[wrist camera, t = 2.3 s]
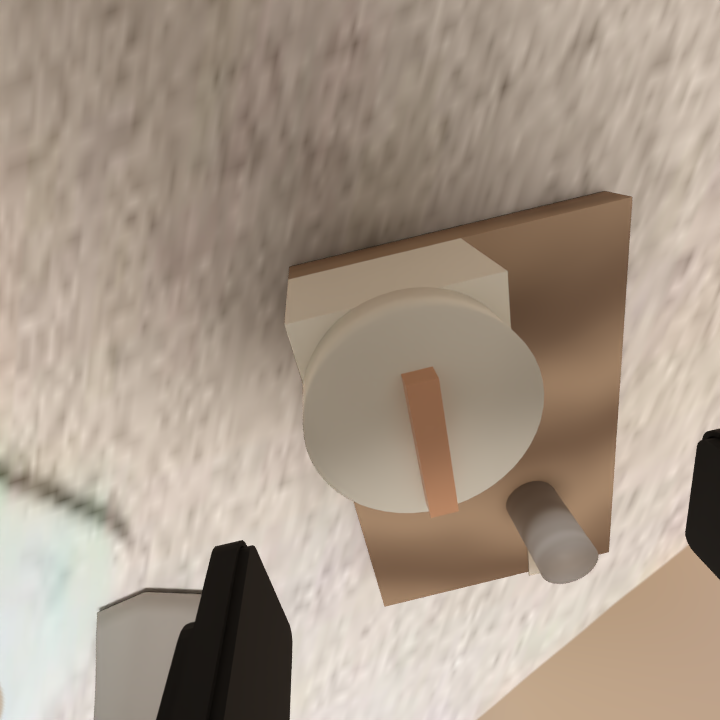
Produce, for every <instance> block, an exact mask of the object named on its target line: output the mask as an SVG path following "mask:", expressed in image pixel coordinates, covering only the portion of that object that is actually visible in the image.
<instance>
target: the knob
mask: <svg viewBox="0 0 720 720" xmlns="http://www.w3.org/2000/svg"><path fill="white" fill-rule="evenodd" d="M284 325H285V328H286V332H287V335H288V338H289V341H290V344H291V348H292V351H293V354H294V357H295V360H296V364H297V367H298V370H299V373H300V376H301V379H302V383H303V432H304V440H305V444H306V448H307V452H308V454H309V456H310V459H311V461H312V463H313V465H314V466H315V468H316V470H317V471H318V473H319V474H320V475H321V476H322V478H323V479H324V480H325V481H326V482H327V483H328V484H329V485H330V486H331V487H332V488H333V489H335V490H336V491H337V492H338V493H340V494H342V495H343V496H345V497H346V498H348V499H350V500H352V501H354V502H356V503H358V504H360V505H363V506H366V507H369V508H372V509H376V510H381V511H385V512H394V513H419V512H428V511H429V514H430V517H431V518H433V517H437V516H442V515H446V514H450V513H454V512H458V511H459V509H458V503H461V502H464V501H466V500H468V499H470V498H472V497H474V496H476V495H478V494H480V493H482V492H483V491H485V490H486V489H488V488H490V487H491V486H493V485H494V484H495V483H496V482H498V481H499V480H500V479H502V478H503V477H504V476H505V475H506V474H507V473H508V472H509V471H510V470H511V469H512V468H513V467H514V466H515V465H516V464H517V463H518V461H519V460H520V459H521V458H522V457H523V455H524V454H525V452H526V451H527V449H528V448H529V446H530V444H531V442H532V440H533V438H534V436H535V434H536V432H537V429H538V427H539V424H540V421H541V416H542V411H543V405H544V388H543V380H542V376H541V372H540V368H539V366H538V364H537V362H536V359H535V357H534V355H533V354H532V352H531V351H530V349H529V348H528V346H527V345H526V343H525V342H524V341H523V340H522V339H521V338H520V337H519V336H518V335H517V334H516V333H515V332H514V331H513V330H512V329H511V321H510V304H509V287H508V271H507V270H506V269H504V268H503V267H501V266H500V265H498V264H497V263H496V262H494V261H493V260H491V259H490V258H488V257H487V256H485V255H484V254H483V253H481V252H480V251H478V250H477V249H475V248H474V247H473V246H471V245H470V244H468V243H467V242H465V241H464V240H463V239H461V238H459V239H455V240H451V241H447V242H443V243H438V244H434V245H430V246H426V247H422V248H418V249H413V250H409V251H405V252H401V253H397V254H393V255H388V256H384V257H380V258H376V259H372V260H368V261H363V262H359V263H355V264H351V265H347V266H343V267H338V268H334V269H330V270H326V271H322V272H318V273H313V274H309V275H305V276H301V277H297V278H293V279H288V288H287V299H286V311H285V322H284Z"/></svg>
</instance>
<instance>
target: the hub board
mask: <svg viewBox="0 0 720 720" xmlns="http://www.w3.org/2000/svg"><path fill="white" fill-rule="evenodd" d="M631 210H632V197H630V196H626V195H621V194H616V193H611V192H607V191H603V192H599V193H595V194H591V195H587V196H582V197H578V198H574V199H570V200H566V201H562V202H557V203H553V204H549V205H545V206H541V207H537V208H532V209H528V210H524V211H520V212H516V213H512V214H507V215H503V216H499V217H495V218H491V219H487V220H482V221H478V222H474V223H470V224H466V225H462V226H457V227H453V228H449V229H445V230H441V231H437V232H432V233H428V234H424V235H420V236H416V237H412V238H407V239H403V240H399V241H395V242H391V243H387V244H382V245H378V246H374V247H370V248H366V249H362V250H357V251H353V252H349V253H345V254H341V255H337V256H332V257H328V258H324V259H320V260H316V261H312V262H307V263H303V264H299V265H295V266H291V267H289V277H288V279H293V278H297V277H301V276H305V275H309V274H313V273H318V272H322V271H326V270H330V269H334V268H338V267H343V266H347V265H351V264H355V263H359V262H363V261H368V260H372V259H376V258H380V257H384V256H388V255H393V254H397V253H401V252H405V251H409V250H413V249H418V248H422V247H426V246H430V245H434V244H438V243H443V242H447V241H451V240H455V239H459V238H461V239H463V240H464V241H465V242H467V243H468V244H470V245H471V246H473V247H474V248H475V249H477V250H478V251H480V252H481V253H483V254H484V255H485V256H487V257H488V258H490V259H491V260H493V261H494V262H496V263H497V264H498V265H500V266H501V267H503V268H504V269H506V270H507V271H508V287H509V304H510V321H511V329H512V330H513V331H514V332H515V333H516V334H517V335H518V336H519V337H520V338H521V339H522V340H523V341H524V342H525V343H526V345H527V346H528V348H529V349H530V351H531V352H532V354H533V355H534V357H535V359H536V362H537V364H538V366H539V368H540V372H541V376H542V380H543V388H544V405H543V411H542V416H541V421H540V424H539V427H538V429H537V432H536V434H535V436H534V438H533V440H532V442H531V444H530V446H529V448H528V449H527V451H526V452H525V454H524V455H523V457H522V458H521V459H520V460H519V461H518V463H517V464H516V465H515V466H514V467H513V468H512V469H511V470H510V471H509V472H508V473H507V474H506V475H505V476H504V477H503V478H502V479H500V480H499V481H498V482H496V483H495V484H494V485H493V486H491V487H490V488H488V489H486V490H485V491H483V492H482V493H480V494H478V495H476V496H474V497H472V498H470V499H468V500H466V501H464V502H461V503H458V509H459V511H458V512H454V513H450V514H446V515H442V516H437V517H433V518H431V517H430V514H429V511H428V512H419V513H394V512H385V511H381V510H376V509H372V508H369V507H366V506H363V505H360V504H358V503H356V502H354V504H355V508H356V511H357V515H358V518H359V521H360V525H361V528H362V532H363V535H364V538H365V542H366V545H367V548H368V552H369V555H370V559H371V562H372V565H373V569H374V572H375V576H376V579H377V582H378V586H379V589H380V593H381V596H382V599H383V603H384V606H389V605H393V604H397V603H401V602H406V601H410V600H414V599H418V598H422V597H426V596H430V595H434V594H438V593H442V592H447V591H451V590H455V589H459V588H463V587H467V586H471V585H475V584H479V583H484V582H488V581H492V580H496V579H500V578H504V577H508V576H512V575H516V574H520V573H525V572H529V576H530V575H534V574H538V573H541V575H542V577H543V578H544V579H545V580H546V581H548V582H551V583H555V584H564V583H570V582H573V581H576V580H578V579H580V578H582V577H584V576H585V575H587V574H588V573H589V572H590V571H591V570H592V569H593V568H594V566H595V565H596V563H597V560H598V554H603V553H607V552H609V541H610V526H611V511H612V496H613V481H614V465H615V450H616V435H617V420H618V405H619V390H620V375H621V360H622V345H623V330H624V315H625V300H626V285H627V270H628V255H629V240H630V225H631Z"/></svg>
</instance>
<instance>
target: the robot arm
mask: <svg viewBox="0 0 720 720" xmlns="http://www.w3.org/2000/svg"><path fill="white" fill-rule="evenodd" d="M685 536H686V540H687V542H688V544H689V546H690V547H691V549H692V550H693V551H694V553H695V554H696V555H697V556H698V557H699V558H700V559H701V560H702V561H703V562H704V563H705V564H706V565H707V567H708V568H710V570H711V571H712V572H713V573H714V574H715V575H716V576H717V577H718V578H719V579H720V429H715V430H711V431H707V432H706V433H705V434H704V435H703V438H702V440H701V441H699V442H698V445H697V450H696V457H695V465H694V472H693V480H692V487H691V494H690V502H689V509H688V516H687V524H686V531H685ZM291 669H292V633H291V628H290V625H289V623H288V620H287V618H286V616H285V613H284V611H283V609H282V607H281V604H280V602H279V600H278V598H277V595H276V593H275V591H274V588H273V586H272V584H271V582H270V579H269V577H268V575H267V572H266V570H265V568H264V566H263V563H262V561H261V559H260V557H259V554H258V552H257V550H256V548H255V546H253V545H252V546H248V547H247V545H246V543H245V542H244V541H243V540H241V541H237V542H232V543H228V544H224V545H220V546H215V547H214V549H213V551H212V554H211V558H210V562H209V566H208V570H207V574H206V578H205V582H204V586H203V590H202V594H201V599H200V603H199V607H198V611H197V615H196V619H195V622H190V623H188V624H186V625H185V626H184V627H183V628H182V630H181V632H180V635H179V637H178V640H177V644H176V647H175V651H174V655H173V658H172V662H171V666H170V669H169V673H168V677H167V681H166V684H165V688H164V692H163V695H162V699H161V703H160V706H159V710H158V714H157V717H156V720H290V695H291Z"/></svg>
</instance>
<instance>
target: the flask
mask: <svg viewBox="0 0 720 720" xmlns="http://www.w3.org/2000/svg"><path fill="white" fill-rule="evenodd" d="M200 599H201V594H183V593H156V592H144V593H142V594H139V595H137V596H135V597H132V598H130V599H128V600H125V601H123V602H121V603H118V604H116V605H114V606H111V607H109V608H107V609H105V610H102V611H100V612H98V613H97V630H96V685H95V706H94V720H156V717H157V714H158V710H159V706H160V703H161V699H162V695H163V692H164V688H165V684H166V681H167V677H168V673H169V669H170V666H171V662H172V658H173V655H174V651H175V647H176V644H177V640H178V637H179V635H180V632H181V630H182V628H183V627H184V626H185V625H186V624H188V623H190V622H195V619H196V615H197V611H198V607H199V603H200Z"/></svg>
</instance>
